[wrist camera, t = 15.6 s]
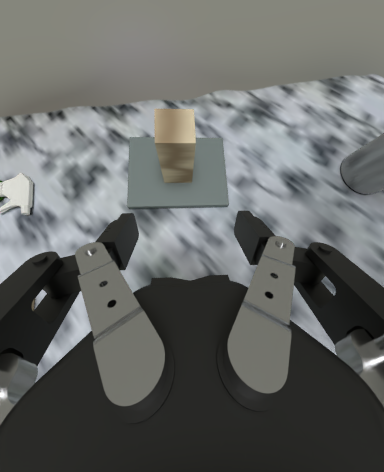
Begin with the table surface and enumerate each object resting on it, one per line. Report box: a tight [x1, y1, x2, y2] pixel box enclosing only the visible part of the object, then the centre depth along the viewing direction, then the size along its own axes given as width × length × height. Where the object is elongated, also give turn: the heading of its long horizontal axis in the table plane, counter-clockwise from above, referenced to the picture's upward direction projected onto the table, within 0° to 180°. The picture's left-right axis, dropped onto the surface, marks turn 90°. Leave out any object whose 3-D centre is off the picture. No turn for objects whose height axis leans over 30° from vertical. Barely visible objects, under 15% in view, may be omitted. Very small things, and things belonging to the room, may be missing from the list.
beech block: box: [155, 109, 196, 183], centre depth 23 cm, size 5×5×9 cm
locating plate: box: [127, 137, 229, 209], centre depth 26 cm, size 18×14×5 cm
